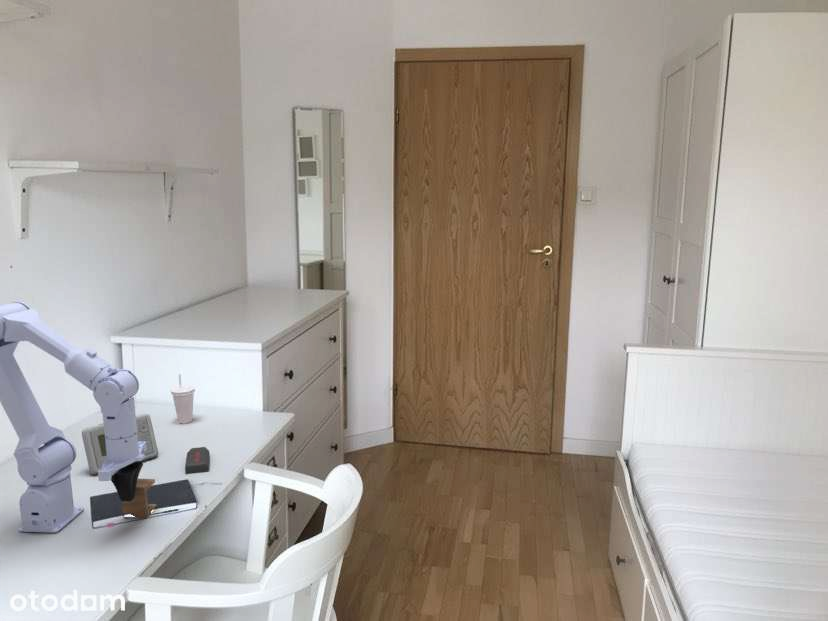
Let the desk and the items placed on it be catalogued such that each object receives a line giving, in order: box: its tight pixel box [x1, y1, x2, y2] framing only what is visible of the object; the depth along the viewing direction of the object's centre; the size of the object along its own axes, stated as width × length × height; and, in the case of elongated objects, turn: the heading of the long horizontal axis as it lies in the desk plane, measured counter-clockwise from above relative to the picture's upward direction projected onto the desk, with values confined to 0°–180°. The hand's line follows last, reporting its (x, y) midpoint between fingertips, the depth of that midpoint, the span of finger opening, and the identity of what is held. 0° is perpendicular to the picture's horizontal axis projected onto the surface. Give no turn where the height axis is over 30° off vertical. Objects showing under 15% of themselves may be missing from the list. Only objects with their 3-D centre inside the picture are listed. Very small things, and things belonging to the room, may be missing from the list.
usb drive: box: [184, 446, 211, 475], centre depth 158 cm, size 5×12×3 cm, turn 16°
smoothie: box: [170, 373, 196, 424], centre depth 185 cm, size 6×6×14 cm
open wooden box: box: [121, 478, 158, 519], centre depth 133 cm, size 4×5×6 cm
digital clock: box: [81, 413, 159, 475], centre depth 157 cm, size 16×9×11 cm, turn 123°
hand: (127, 499), depth 129 cm, fingers closed
